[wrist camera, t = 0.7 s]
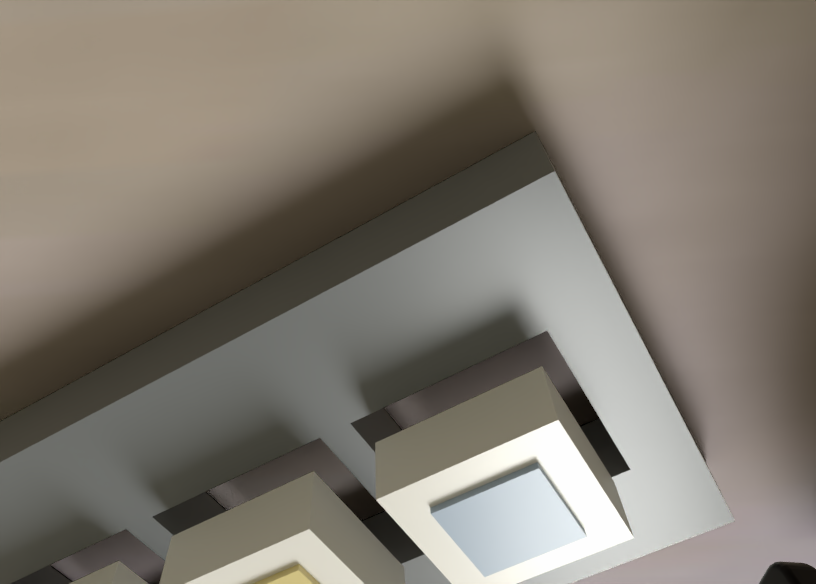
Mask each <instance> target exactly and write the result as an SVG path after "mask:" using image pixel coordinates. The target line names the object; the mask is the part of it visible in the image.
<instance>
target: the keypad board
mask: <svg viewBox="0 0 816 584" xmlns="http://www.w3.org/2000/svg"><path fill="white" fill-rule="evenodd" d="M545 331H548V333H549V334H550V336H551V338H552V339H553V341H554V343H555V344H556V346H557V348H558V349H559V351H560V353H561V354H562V356H563V358H564V359H565V361H566V363H567V364H568V366H569V368H570V369H571V371H572V373H573V374H574V376H575V378H576V379H577V381H578V383H579V384H580V386H581V388H582V389H583V391H584V393H585V395H586V396H587V398H588V400H589V401H590V403H591V405H592V406H593V408H594V410H595V411H596V413H597V415H598V416H599V418H600V419H597V420H595V421H593V422H591V423H588V424H586V425H584V426H581V427H580V428H581V429H582V431H583V432H584V434H585V436H586V437H587V439H588V440H589V442H590V444H591V445H592V447H593V448H594V450H595V452H596V453H597V455H598V456H599V458H600V460H601V461H602V463H603V464H604V466H605V468H606V469H607V471H608V472H609V474H610V476H611V477H612V479H613V480H614V483H615V485H616V488H617V491H618V494H619V497H620V499H621V502H622V505H623V508H624V511H625V514H626V516H627V519H628V522H629V525H630V528H631V530H632V533H633V536H634V538H633V539H630V540H628V541H625V542H623V543H620V544H617V545H615V546H612V547H610V548H607V549H604V550H602V551H599V552H597V553H594V554H592V555H589V556H586V557H584V558H581V559H579V560H576V561H573V562H571V563H568V564H566V565H563V566H561V567H558V568H555V569H553V570H550V571H548V572H545V573H543V574H540V575H537V576H535V577H532V578H530V579H527V580H524V581H522V582H519V583H517V584H571V583H573V582H576V581H579V580H581V579H584V578H587V577H589V576H592V575H594V574H597V573H600V572H602V571H605V570H608V569H610V568H613V567H615V566H618V565H621V564H623V563H626V562H629V561H631V560H634V559H636V558H639V557H642V556H644V555H647V554H650V553H652V552H655V551H658V550H660V549H663V548H665V547H668V546H671V545H673V544H676V543H679V542H681V541H684V540H686V539H689V538H692V537H694V536H697V535H700V534H702V533H705V532H708V531H710V530H713V529H715V528H718V527H721V526H723V525H726V524H729V523H731V522H734V521H735V520H734V518H733V516H732V514H731V512H730V510H729V508H728V506H727V504H726V502H725V500H724V498H723V496H722V494H721V492H720V490H719V488H718V486H717V484H716V482H715V480H714V478H713V476H712V474H711V472H710V470H709V468H708V466H707V464H706V462H705V460H704V458H703V456H702V454H701V452H700V450H699V448H698V446H697V445H696V443H695V441H694V439H693V437H692V435H691V433H690V431H689V429H688V427H687V425H686V423H685V421H684V419H683V417H682V415H681V413H680V411H679V410H678V408H677V406H676V404H675V402H674V400H673V398H672V396H671V394H670V392H669V390H668V388H667V386H666V384H665V382H664V380H663V378H662V376H661V375H660V373H659V371H658V369H657V367H656V365H655V363H654V361H653V359H652V357H651V355H650V353H649V351H648V349H647V347H646V345H645V343H644V342H643V340H642V338H641V336H640V334H639V332H638V330H637V328H636V326H635V324H634V322H633V320H632V318H631V316H630V314H629V312H628V310H627V308H626V307H625V305H624V303H623V301H622V299H621V297H620V295H619V293H618V291H617V289H616V287H615V285H614V283H613V281H612V279H611V277H610V275H609V273H608V272H607V270H606V268H605V266H604V264H603V262H602V260H601V258H600V256H599V254H598V252H597V250H596V248H595V246H594V244H593V242H592V240H591V238H590V237H589V235H588V233H587V231H586V229H585V227H584V225H583V223H582V221H581V219H580V217H579V215H578V213H577V211H576V209H575V207H574V205H573V203H572V202H571V200H570V198H569V196H568V194H567V192H566V190H565V188H564V186H563V184H562V182H561V180H560V178H559V176H558V174H557V172H556V170H555V169H554V167H553V165H552V163H551V161H550V159H549V157H548V155H547V153H546V151H545V149H544V147H543V145H542V143H541V141H540V139H539V137H538V135H537V134H536V132H533V133H531V134H529V135H527V136H526V137H524V138H522V139H520V140H518V141H516V142H515V143H513V144H511V145H509V146H507V147H505V148H503V149H502V150H500V151H498V152H496V153H494V154H492V155H491V156H489V157H487V158H485V159H483V160H481V161H480V162H478V163H476V164H474V165H472V166H470V167H468V168H467V169H465V170H463V171H461V172H459V173H457V174H456V175H454V176H452V177H450V178H448V179H446V180H445V181H443V182H441V183H439V184H437V185H435V186H433V187H432V188H430V189H428V190H426V191H424V192H422V193H421V194H419V195H417V196H415V197H413V198H411V199H410V200H408V201H406V202H404V203H402V204H400V205H398V206H397V207H395V208H393V209H391V210H389V211H387V212H386V213H384V214H382V215H380V216H378V217H376V218H374V219H373V220H371V221H369V222H367V223H365V224H363V225H362V226H360V227H358V228H356V229H354V230H352V231H351V232H349V233H347V234H345V235H343V236H341V237H339V238H338V239H336V240H334V241H332V242H330V243H328V244H327V245H325V246H323V247H321V248H319V249H317V250H316V251H314V252H312V253H310V254H308V255H306V256H304V257H303V258H301V259H299V260H297V261H295V262H293V263H292V264H290V265H288V266H286V267H284V268H282V269H281V270H279V271H277V272H275V273H273V274H271V275H269V276H268V277H266V278H264V279H262V280H260V281H258V282H257V283H255V284H253V285H251V286H249V287H247V288H246V289H244V290H242V291H240V292H238V293H236V294H234V295H233V296H231V297H229V298H227V299H225V300H223V301H222V302H220V303H218V304H216V305H214V306H212V307H211V308H209V309H207V310H205V311H203V312H201V313H199V314H198V315H196V316H194V317H192V318H190V319H188V320H187V321H185V322H183V323H181V324H179V325H177V326H175V327H174V328H172V329H170V330H168V331H166V332H164V333H163V334H161V335H159V336H157V337H155V338H153V339H152V340H150V341H148V342H146V343H144V344H142V345H140V346H139V347H137V348H135V349H133V350H131V351H129V352H128V353H126V354H124V355H122V356H120V357H118V358H117V359H115V360H113V361H111V362H109V363H107V364H105V365H104V366H102V367H100V368H98V369H96V370H94V371H93V372H91V373H89V374H87V375H85V376H83V377H82V378H80V379H78V380H76V381H74V382H72V383H70V384H69V385H67V386H65V387H63V388H61V389H59V390H58V391H56V392H54V393H52V394H50V395H48V396H47V397H45V398H43V399H41V400H39V401H37V402H35V403H34V404H32V405H30V406H28V407H26V408H24V409H23V410H21V411H19V412H17V413H15V414H13V415H11V416H10V417H8V418H6V419H4V420H2V421H0V584H69V583H71V581H70V580H69V579H67V578H66V577H64V576H63V575H62V574H60V573H59V572H58V571H56V570H55V569H53V568H52V567H51V566H49V565H51V564H53V563H55V562H57V561H59V560H61V559H63V558H66V557H68V556H70V555H72V554H74V553H76V552H78V551H80V550H82V549H85V548H87V547H89V546H91V545H93V544H95V543H97V542H99V541H102V540H104V539H106V538H108V537H110V536H112V535H114V534H116V533H119V532H121V531H123V530H125V529H126V530H128V531H129V532H130V533H131V534H132V535H134V536H135V537H136V538H137V539H139V540H140V541H141V542H142V543H143V544H145V545H146V546H147V547H148V548H150V549H151V550H152V551H153V552H154V553H156V554H157V555H158V556H159V557H161V558H162V559H163V560H164V561H165V560H166V556H167V552H168V549H169V545H170V541H171V537H172V536H174V535H176V534H178V533H180V532H182V531H184V530H187V529H189V528H191V527H193V526H195V525H198V524H200V523H202V522H204V521H206V520H208V519H211V518H213V517H215V516H217V515H219V514H221V513H224V512H226V510H225V509H223V508H222V507H221V506H220V505H219V504H218V503H217V502H216V501H215V500H214V499H213V498H212V497H210V496H209V495H208V494H207V493H206V491H208V490H210V489H212V488H214V487H216V486H218V485H220V484H223V483H225V482H227V481H229V480H231V479H233V478H235V477H237V476H240V475H242V474H244V473H246V472H248V471H250V470H252V469H254V468H257V467H259V466H261V465H263V464H265V463H267V462H269V461H271V460H273V459H276V458H278V457H280V456H282V455H284V454H286V453H288V452H290V451H293V450H295V449H297V448H299V447H301V446H303V445H305V444H307V443H310V442H312V441H314V440H316V439H318V438H321V439H322V441H323V442H324V443H325V444H326V445H327V446H328V447H329V448H330V449H331V451H332V452H333V453H334V454H335V455H336V456H337V457H338V458H339V459H340V461H341V462H342V463H343V464H344V465H345V466H346V467H347V468H348V469H349V470H350V472H351V473H352V474H353V475H354V476H355V477H356V478H357V479H358V480H359V482H360V483H361V484H362V485H363V486H364V487H365V488H366V489H367V490H368V492H369V493H370V494H371V495H372V496H373V497H374V498H375V499H376V468H375V443H376V442H378V441H380V440H382V439H385V438H387V437H389V436H391V435H393V434H396V433H398V432H400V431H402V430H401V429H400V428H399V426H398V425H397V424H396V423H395V422H394V420H393V419H392V418H391V417H390V415H389V414H388V413H387V412H386V410H385V409H384V407H386V406H388V405H390V404H392V403H394V402H397V401H399V400H401V399H403V398H405V397H407V396H409V395H411V394H414V393H416V392H418V391H420V390H422V389H424V388H426V387H428V386H431V385H433V384H435V383H437V382H439V381H441V380H443V379H445V378H448V377H450V376H452V375H454V374H456V373H458V372H460V371H462V370H465V369H467V368H469V367H471V366H473V365H475V364H477V363H479V362H481V361H484V360H486V359H488V358H490V357H492V356H494V355H496V354H498V353H501V352H503V351H505V350H507V349H509V348H511V347H513V346H515V345H518V344H520V343H522V342H524V341H526V340H528V339H530V338H532V337H535V336H537V335H539V334H541V333H543V332H545ZM362 523H363V524H364V525H365V526H366V527H367V528H368V529H369V530H370V531H371V532H372V534H373V535H374V536H375V537H376V538H377V539H378V540H379V541H380V542H381V543H382V544H383V545H384V546H385V547H386V548H387V549H388V551H389V552H390V553H391V554H392V555H393V556H394V557H395V558H396V559H397V560H398V561H399V562H400V563H401V564H402V565H403V566H404V573H405V584H451V583H450V581H449V580H448V579H447V578H446V577H445V576H444V575H443V574H442V573H441V571H440V570H439V569H438V568H437V567H436V566H435V565H434V564H433V563H432V561H431V560H430V559H429V558H428V557H427V556H426V555H425V554H424V553H423V551H422V550H421V549H420V548H419V547H418V546H417V545H416V544H415V543H414V541H413V540H412V539H411V538H410V537H409V536H408V535H407V534H406V533H405V532H404V530H403V529H402V528H401V527H400V526H399V525H398V524H397V523H396V522H395V520H394V519H393V518H392V517H391V516H390V515H389V514H388V513H387V512H386V511H385V512H383V513H380V514H378V515H376V516H373V517H371V518H369V519H366V520H364V521H362Z"/></svg>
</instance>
